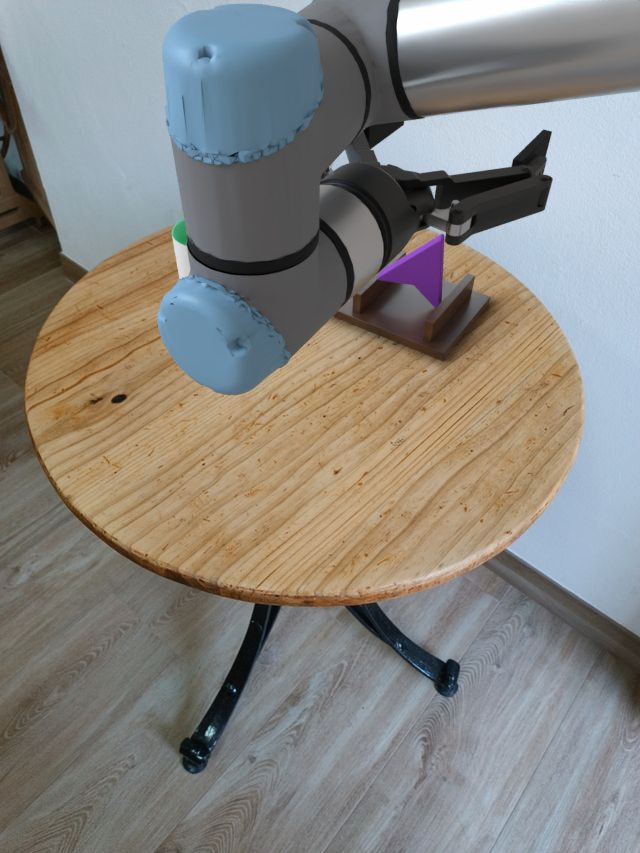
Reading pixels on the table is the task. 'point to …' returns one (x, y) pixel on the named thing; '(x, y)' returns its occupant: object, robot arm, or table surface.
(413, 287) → the rack
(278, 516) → the table surface
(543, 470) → the table surface
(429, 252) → the arrowhead
